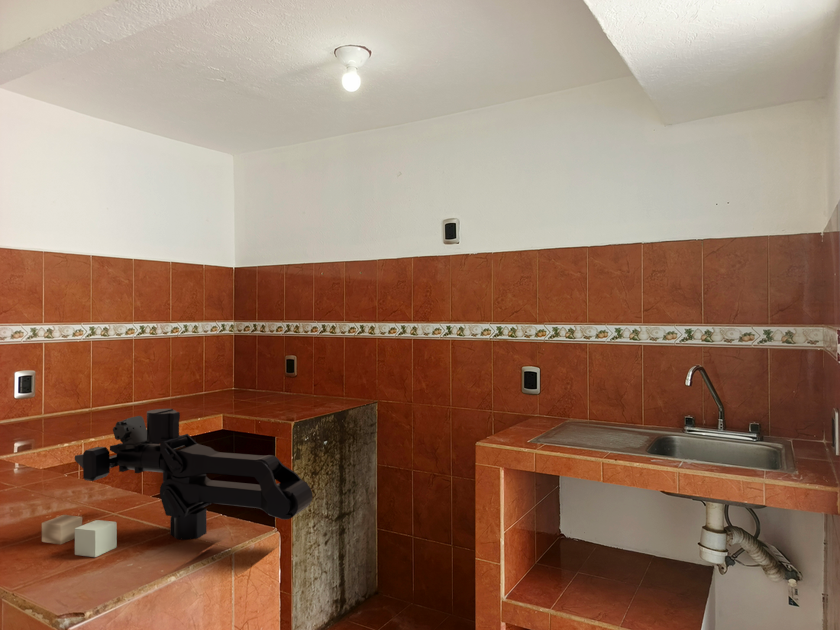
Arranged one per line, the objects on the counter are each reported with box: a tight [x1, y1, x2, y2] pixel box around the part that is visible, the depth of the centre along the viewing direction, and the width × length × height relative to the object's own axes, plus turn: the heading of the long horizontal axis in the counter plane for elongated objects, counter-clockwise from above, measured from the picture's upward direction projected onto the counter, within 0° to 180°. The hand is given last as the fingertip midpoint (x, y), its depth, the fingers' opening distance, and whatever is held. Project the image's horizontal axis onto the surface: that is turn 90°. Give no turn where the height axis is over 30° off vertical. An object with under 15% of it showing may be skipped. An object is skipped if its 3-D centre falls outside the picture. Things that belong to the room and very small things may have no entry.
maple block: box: [41, 514, 83, 545], centre depth 116 cm, size 5×5×5 cm
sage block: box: [74, 519, 118, 558], centre depth 109 cm, size 5×5×5 cm
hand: (93, 452), depth 125 cm, fingers open, 9 cm apart
